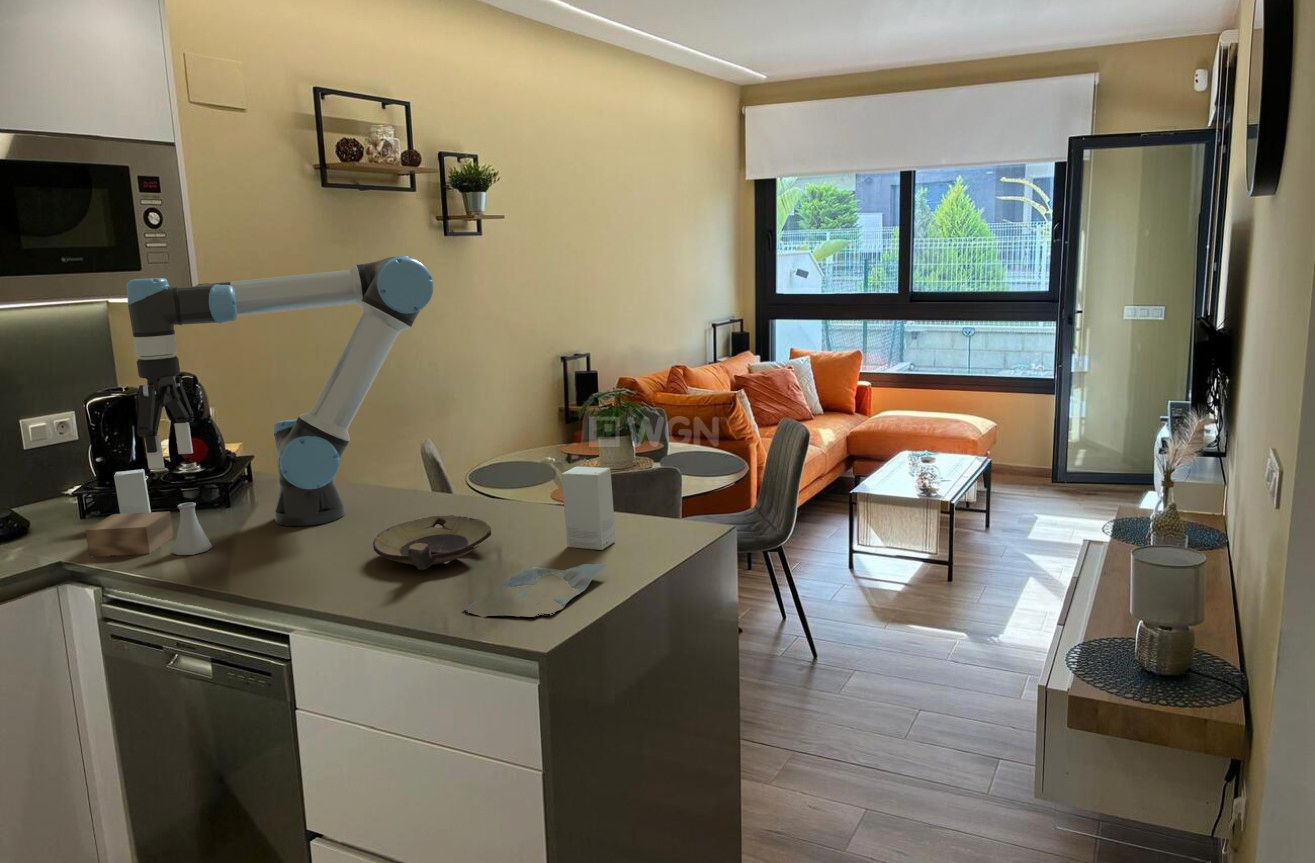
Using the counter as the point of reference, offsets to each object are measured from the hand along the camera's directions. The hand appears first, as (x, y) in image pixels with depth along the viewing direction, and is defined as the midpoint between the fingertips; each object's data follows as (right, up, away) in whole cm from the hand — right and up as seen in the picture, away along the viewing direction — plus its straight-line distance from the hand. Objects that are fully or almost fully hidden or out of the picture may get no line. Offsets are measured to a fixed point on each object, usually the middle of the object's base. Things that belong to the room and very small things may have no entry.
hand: (171, 460), depth 201 cm
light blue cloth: (+78, -23, -29) cm, 86 cm away
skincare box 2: (+85, -17, -2) cm, 87 cm away
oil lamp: (+54, -20, -9) cm, 58 cm away
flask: (+3, -19, +3) cm, 19 cm away
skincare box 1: (-21, -15, +26) cm, 37 cm away
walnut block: (-12, -19, +8) cm, 23 cm away
